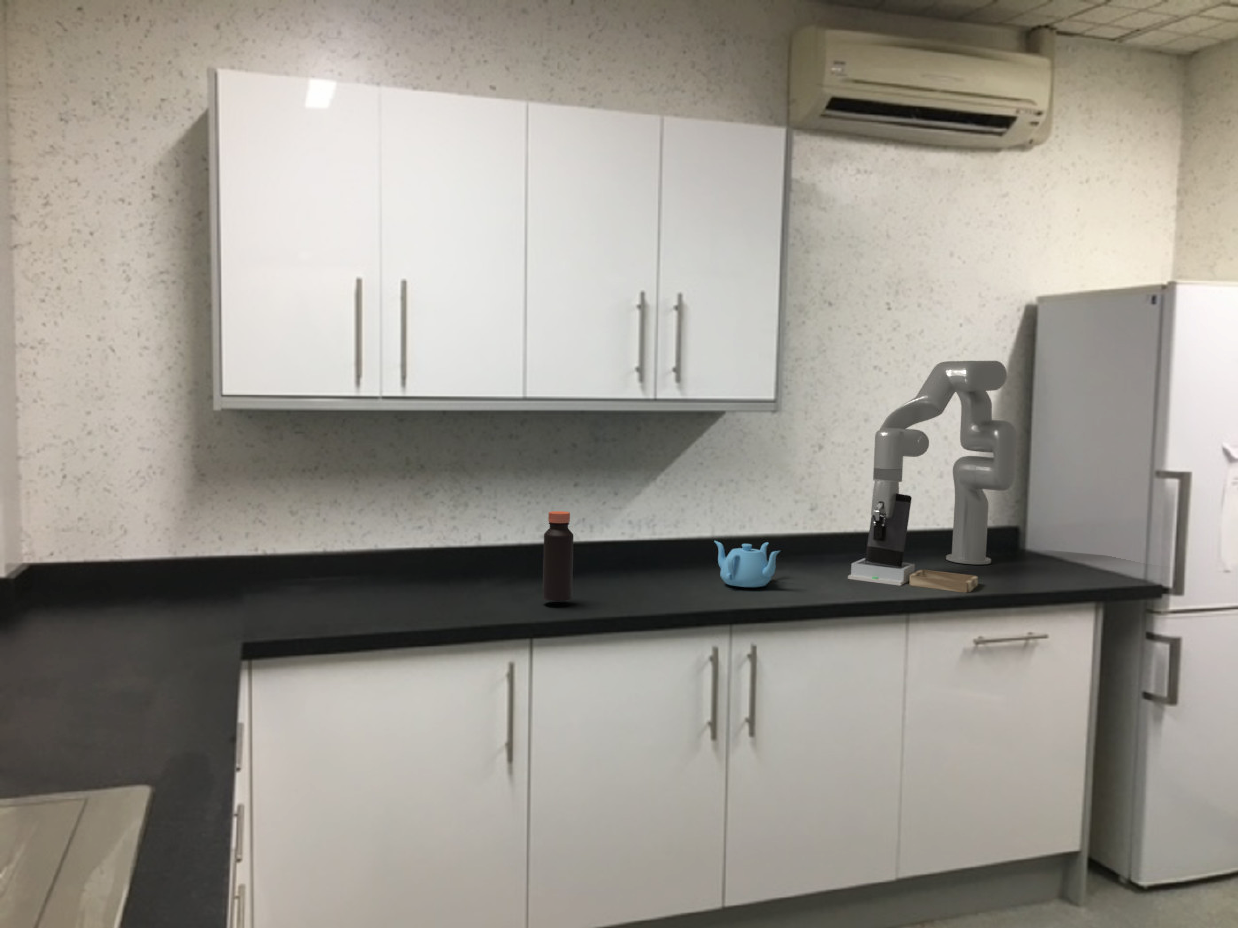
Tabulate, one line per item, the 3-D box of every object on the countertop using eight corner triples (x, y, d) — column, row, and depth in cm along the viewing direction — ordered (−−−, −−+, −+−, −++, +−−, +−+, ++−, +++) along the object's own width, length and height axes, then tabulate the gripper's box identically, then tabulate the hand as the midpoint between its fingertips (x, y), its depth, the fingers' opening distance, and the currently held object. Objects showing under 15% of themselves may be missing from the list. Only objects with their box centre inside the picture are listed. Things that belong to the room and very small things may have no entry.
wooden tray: (920, 578, 251) (920, 569, 251) (978, 585, 243) (978, 576, 243) (908, 585, 241) (908, 575, 241) (968, 592, 233) (969, 583, 233)
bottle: (536, 597, 214) (538, 511, 213) (561, 593, 219) (563, 510, 217) (553, 602, 209) (555, 515, 208) (577, 599, 213) (579, 513, 212)
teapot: (721, 589, 230) (722, 548, 229) (711, 577, 245) (713, 538, 244) (779, 590, 231) (781, 549, 230) (766, 578, 246) (768, 539, 245)
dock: (866, 570, 261) (866, 556, 261) (916, 576, 254) (917, 562, 254) (847, 578, 248) (848, 564, 247) (900, 585, 240) (901, 571, 240)
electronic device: (898, 569, 252) (909, 497, 253) (902, 569, 246) (913, 495, 247) (863, 563, 253) (874, 491, 254) (866, 563, 247) (877, 490, 248)
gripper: (883, 472, 258) (880, 533, 259) (864, 476, 243) (861, 540, 245) (910, 474, 254) (907, 536, 255) (892, 478, 239) (889, 543, 241)
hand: (884, 538), depth 250 cm, fingers open, 9 cm apart
